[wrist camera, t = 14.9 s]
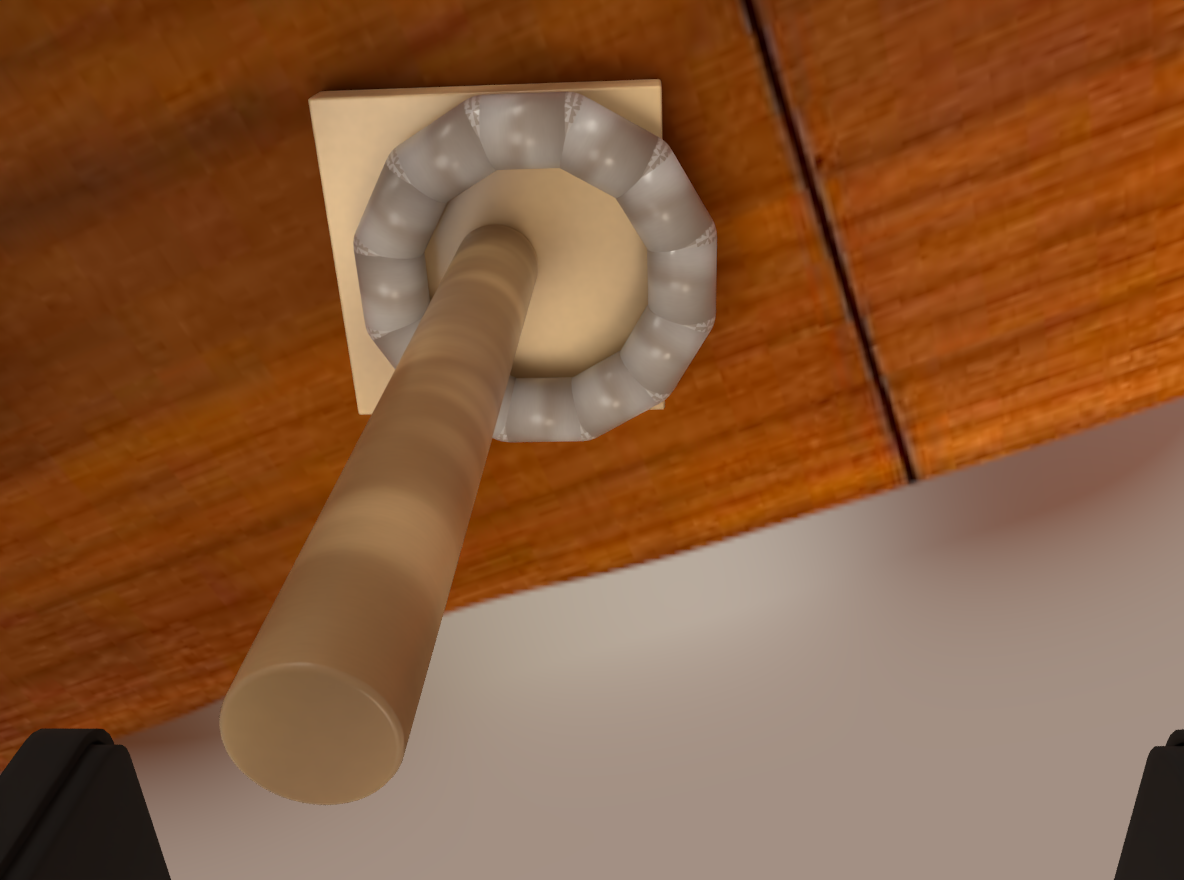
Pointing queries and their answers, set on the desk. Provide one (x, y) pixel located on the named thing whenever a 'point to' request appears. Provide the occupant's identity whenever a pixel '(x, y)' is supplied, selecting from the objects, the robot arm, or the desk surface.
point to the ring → (593, 154)
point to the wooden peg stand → (424, 431)
